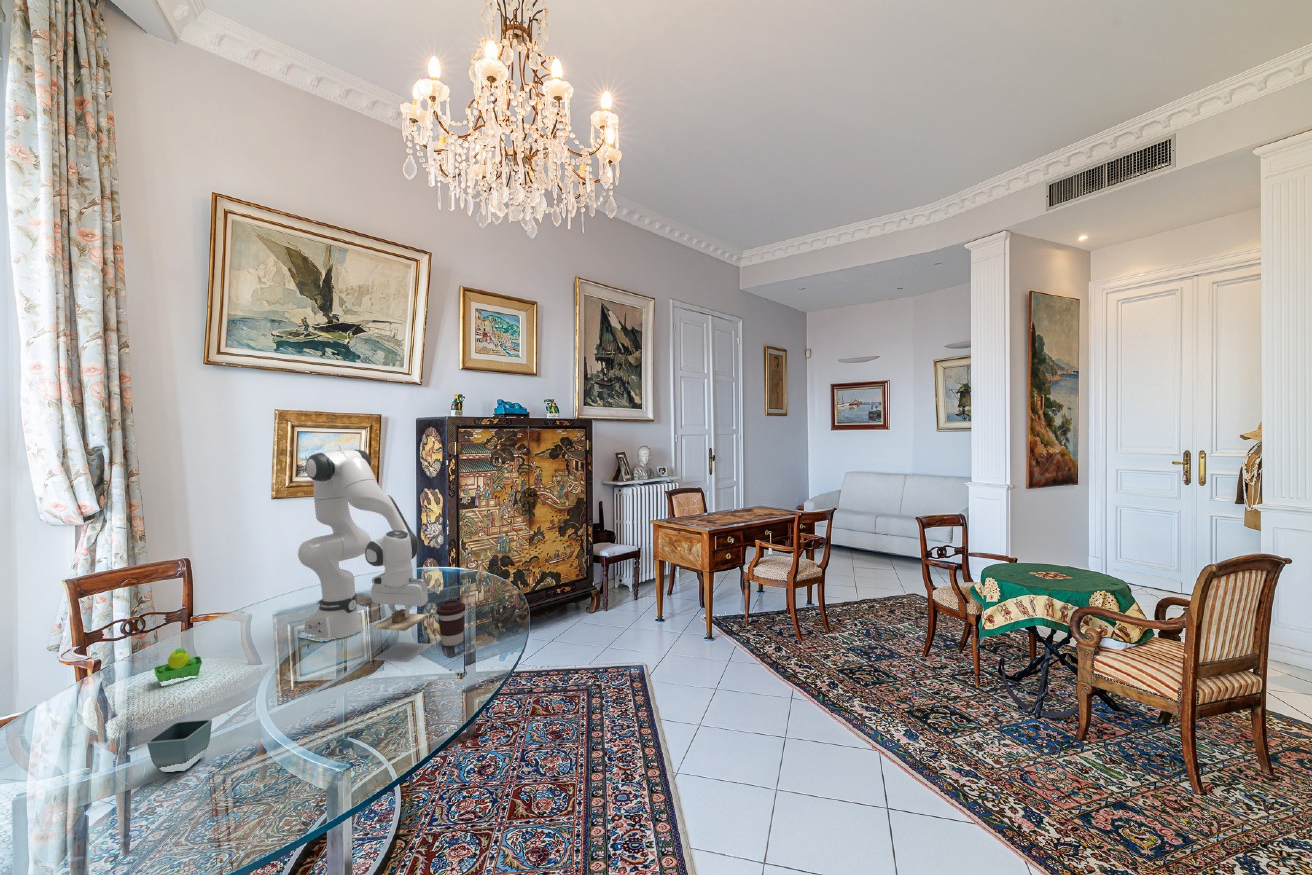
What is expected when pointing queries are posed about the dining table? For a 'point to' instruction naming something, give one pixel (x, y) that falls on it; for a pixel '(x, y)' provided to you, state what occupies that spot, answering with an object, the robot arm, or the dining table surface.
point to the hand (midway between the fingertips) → (400, 616)
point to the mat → (402, 652)
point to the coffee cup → (451, 622)
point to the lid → (400, 621)
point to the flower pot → (179, 742)
